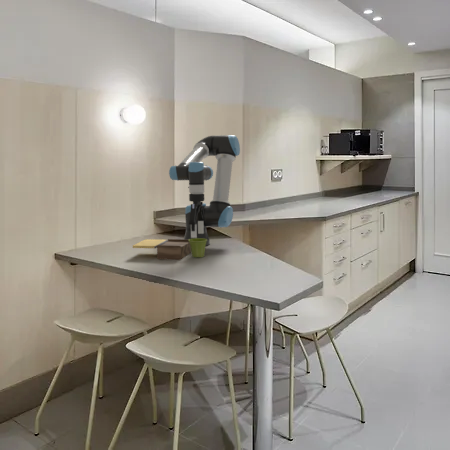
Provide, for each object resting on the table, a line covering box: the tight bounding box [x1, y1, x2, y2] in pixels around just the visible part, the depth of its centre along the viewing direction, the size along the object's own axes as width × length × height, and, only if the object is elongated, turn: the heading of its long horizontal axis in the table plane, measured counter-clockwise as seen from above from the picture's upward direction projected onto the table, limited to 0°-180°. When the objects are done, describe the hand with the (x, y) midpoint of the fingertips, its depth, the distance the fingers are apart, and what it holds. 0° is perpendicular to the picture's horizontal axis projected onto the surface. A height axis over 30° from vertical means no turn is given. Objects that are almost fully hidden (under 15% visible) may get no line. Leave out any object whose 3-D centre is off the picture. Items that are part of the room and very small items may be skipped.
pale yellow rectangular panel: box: [132, 238, 168, 249], centre depth 257 cm, size 19×1×12 cm
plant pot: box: [189, 238, 207, 258], centre depth 252 cm, size 9×9×9 cm
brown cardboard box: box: [156, 238, 192, 261], centre depth 254 cm, size 18×12×7 cm, turn 168°
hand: (197, 235), depth 250 cm, fingers open, 13 cm apart
